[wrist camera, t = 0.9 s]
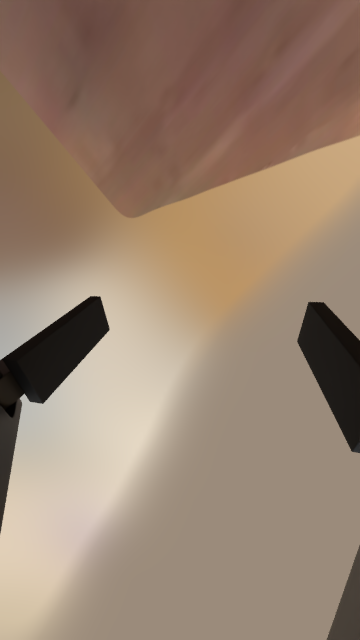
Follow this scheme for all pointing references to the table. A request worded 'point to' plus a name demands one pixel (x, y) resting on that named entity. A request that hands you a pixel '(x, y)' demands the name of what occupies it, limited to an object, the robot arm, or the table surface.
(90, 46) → the table surface
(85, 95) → the table surface
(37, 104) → the table surface
